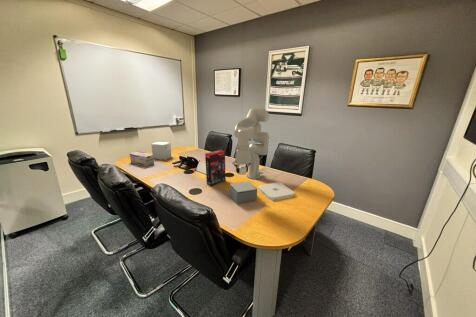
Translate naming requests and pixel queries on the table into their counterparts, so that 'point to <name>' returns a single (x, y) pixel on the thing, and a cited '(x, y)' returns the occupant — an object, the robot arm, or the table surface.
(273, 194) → the computer
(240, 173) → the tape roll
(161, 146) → the supplement box
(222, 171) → the graphics card box
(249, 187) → the lid
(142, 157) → the surgical sutures box
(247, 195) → the carton
